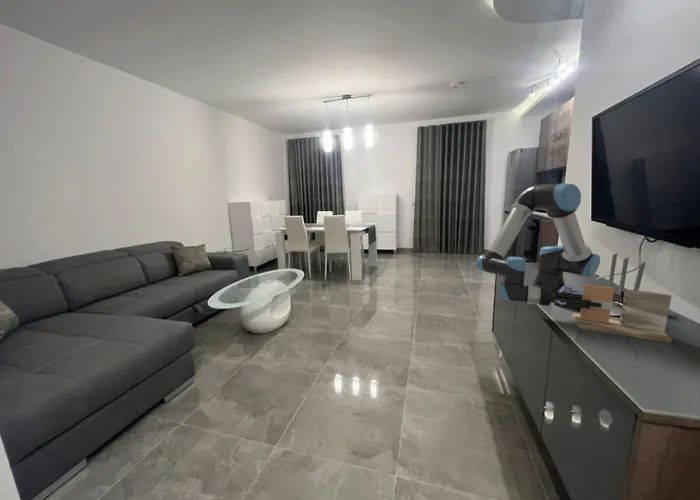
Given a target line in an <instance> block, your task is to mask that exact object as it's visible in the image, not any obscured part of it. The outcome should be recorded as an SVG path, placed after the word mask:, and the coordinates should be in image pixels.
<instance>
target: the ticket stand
mask: <svg viewBox="0 0 700 500" xmlns="http://www.w3.org/2000/svg"><path fill="white" fill-rule="evenodd" d="M624 292H625V293H624V299H623V305H622V306H621V307H622V308H621V311H620V312H621V313H620V318H618V317H617V318H616V317H609V323H603V322H597V321H590V320H583V319H581V318H580V313H581V312H572V314H571V315H572V317H573V320H574V321H575V324H576V326H577V328H578V329H579V330H580V329H582V330H586V331H591V332H592V331H593V332H598V333H599V332H601V333H604V334H605V333H606V334H612V335H618V336H625V337H630V338H635V339H637V338H638V339H641V340H643V339H644V340H649V341H655V342H662V343H669V344H672V340H673V339H672V338H671V336H669V335H668V334H667V332H665V331H666V326H667V320H668V316H669V311H670V305H671V301H672V295H671V294H670V293H665V292H656V291H655V292H654V291H647V290H646V291H645V290H644V291H643V290H636V289H626V288H625V289H624Z"/></svg>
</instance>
